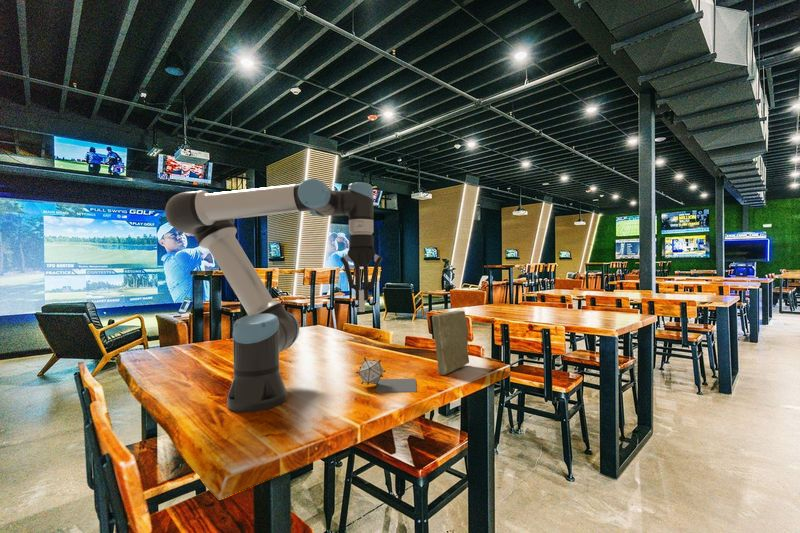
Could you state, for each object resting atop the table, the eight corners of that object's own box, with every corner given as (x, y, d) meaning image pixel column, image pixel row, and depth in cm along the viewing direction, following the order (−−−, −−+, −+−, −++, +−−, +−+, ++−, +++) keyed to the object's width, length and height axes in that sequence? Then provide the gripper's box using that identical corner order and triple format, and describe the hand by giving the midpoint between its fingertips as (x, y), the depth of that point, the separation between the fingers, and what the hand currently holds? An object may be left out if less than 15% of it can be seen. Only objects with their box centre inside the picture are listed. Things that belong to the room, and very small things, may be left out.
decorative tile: (447, 376, 121) (446, 316, 121) (432, 373, 124) (431, 315, 124) (472, 364, 136) (471, 310, 136) (458, 361, 139) (457, 309, 139)
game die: (375, 388, 116) (394, 364, 115) (370, 399, 108) (390, 373, 107) (353, 370, 117) (372, 346, 116) (346, 379, 108) (366, 354, 107)
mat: (375, 393, 106) (375, 392, 106) (378, 380, 118) (378, 379, 118) (416, 392, 106) (416, 391, 106) (415, 379, 118) (415, 378, 118)
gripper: (337, 233, 108) (338, 313, 108) (381, 233, 108) (382, 312, 108) (342, 235, 116) (342, 310, 116) (383, 235, 116) (383, 309, 116)
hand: (362, 311), depth 112 cm, fingers closed
